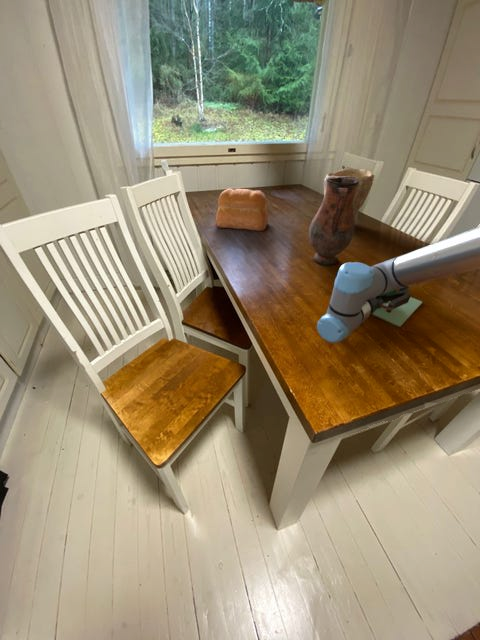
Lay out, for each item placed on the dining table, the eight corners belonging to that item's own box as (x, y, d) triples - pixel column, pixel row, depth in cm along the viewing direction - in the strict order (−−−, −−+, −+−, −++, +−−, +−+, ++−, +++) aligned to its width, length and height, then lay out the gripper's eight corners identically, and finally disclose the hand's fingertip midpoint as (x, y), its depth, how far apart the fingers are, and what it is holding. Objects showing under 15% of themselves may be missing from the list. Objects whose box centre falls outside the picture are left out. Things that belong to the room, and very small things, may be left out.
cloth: (422, 303, 88) (422, 301, 88) (399, 327, 79) (400, 326, 78) (364, 279, 100) (364, 278, 99) (338, 298, 90) (338, 297, 90)
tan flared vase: (323, 214, 158) (332, 165, 142) (363, 220, 150) (378, 169, 134) (311, 226, 142) (321, 172, 127) (356, 234, 134) (372, 178, 118)
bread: (221, 218, 151) (220, 184, 140) (268, 221, 147) (271, 187, 136) (213, 228, 139) (212, 192, 128) (264, 232, 135) (267, 195, 124)
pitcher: (344, 252, 118) (364, 175, 99) (347, 276, 101) (373, 190, 83) (305, 248, 120) (318, 173, 102) (302, 271, 104) (317, 186, 85)
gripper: (322, 301, 84) (357, 276, 96) (392, 336, 72) (423, 303, 84) (327, 280, 79) (364, 257, 91) (403, 314, 67) (434, 282, 79)
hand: (392, 279), depth 88 cm, fingers open, 9 cm apart
